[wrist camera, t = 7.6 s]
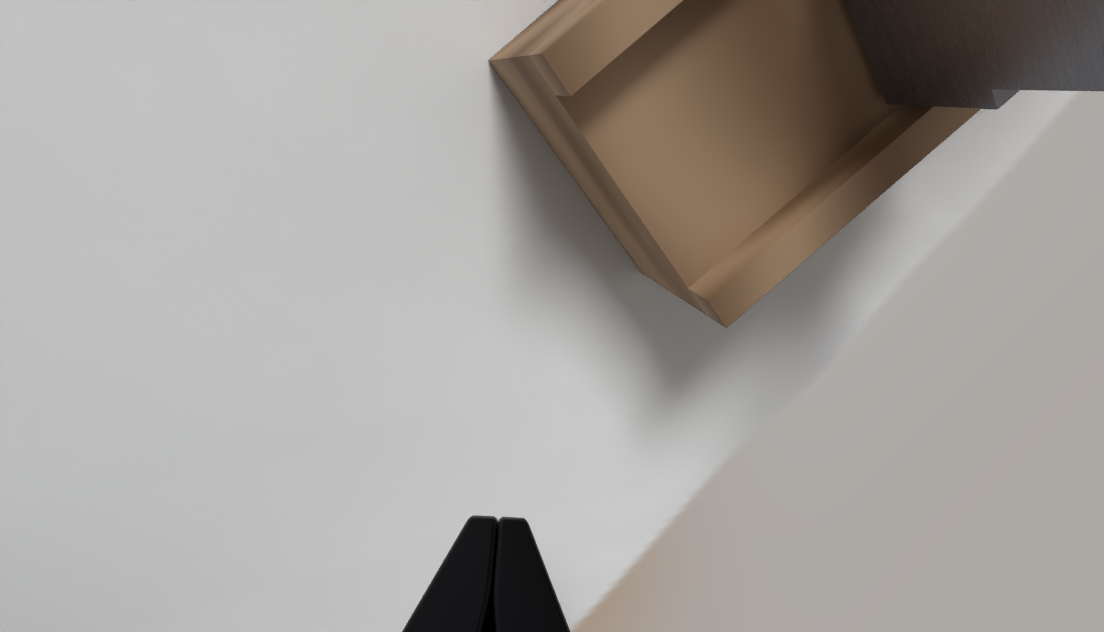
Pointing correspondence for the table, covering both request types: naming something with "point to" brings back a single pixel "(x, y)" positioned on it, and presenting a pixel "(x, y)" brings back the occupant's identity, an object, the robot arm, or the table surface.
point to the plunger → (980, 48)
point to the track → (717, 131)
